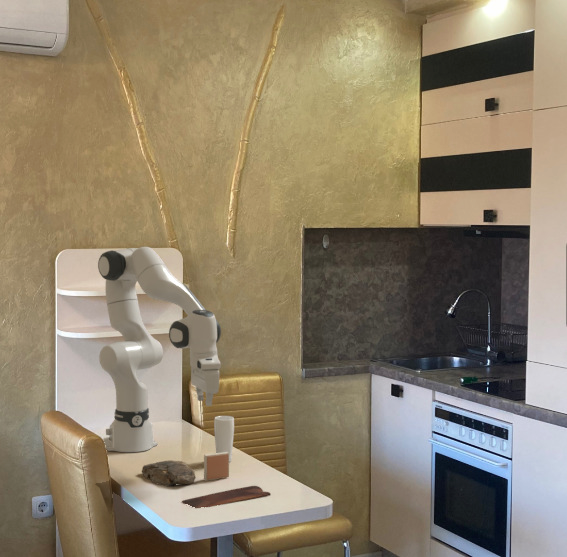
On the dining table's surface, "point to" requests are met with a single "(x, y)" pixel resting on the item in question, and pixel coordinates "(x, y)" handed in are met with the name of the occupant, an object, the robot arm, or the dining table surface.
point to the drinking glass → (224, 434)
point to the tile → (216, 465)
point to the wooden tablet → (227, 497)
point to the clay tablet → (169, 472)
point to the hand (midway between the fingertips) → (204, 403)
